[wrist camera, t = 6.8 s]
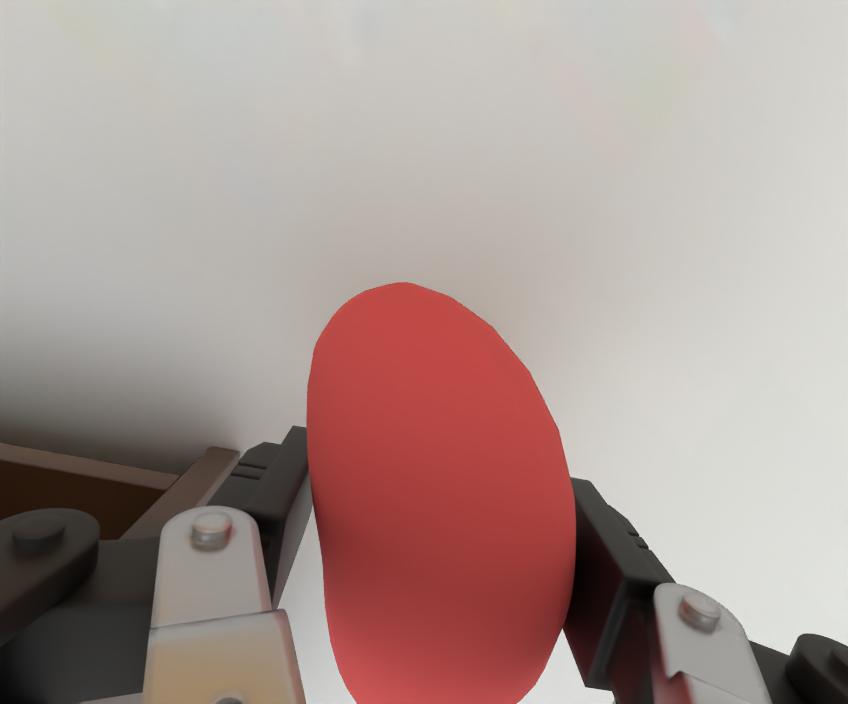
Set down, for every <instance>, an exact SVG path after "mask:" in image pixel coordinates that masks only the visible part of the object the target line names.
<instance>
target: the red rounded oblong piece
mask: <svg viewBox="0 0 848 704" xmlns="http://www.w3.org/2000/svg"><path fill="white" fill-rule="evenodd" d="M307 450H308V465H309V475H310V484H311V494H312V500H313V506H314V512H315V518H316V524H317V530H318V535H319V541H320V547H321V554H322V563H323V578H324V597H325V609H326V615H327V622H328V628H329V635H330V641H331V645H332V649H333V652H334V655H335V659H336V662H337V666H338V669H339V672H340V674H341V676H342V678H343V681H344V683H345V685H346V687H347V689H348V691H349V692H350V694H351V695H352V697H353V698H354V699H355V701H356V702H357V704H516V703H518V702H519V701H520V700H521V699H522V698H523V697H524V696H525V695H526V694H527V693H528V692H529V691H530V690H531V689H532V688H533V687H534V686H535V684H536V683H537V681H538V679H539V677H540V676H541V674H542V672H543V670H544V669H545V667H546V664H547V662H548V660H549V657H550V655H551V653H552V650H553V648H554V646H555V643H556V641H557V639H558V636H559V634H560V632H561V630H562V627H563V625H564V622H565V619H566V616H567V612H568V609H569V605H570V600H571V595H572V589H573V582H574V573H575V557H576V514H575V500H574V492H573V488H572V484H571V480H570V476H569V471H568V467H567V463H566V459H565V455H564V450H563V446H562V442H561V438H560V434H559V430H558V428H557V426H556V424H555V422H554V420H553V418H552V416H551V414H550V412H549V410H548V408H547V406H546V404H545V402H544V400H543V398H542V396H541V394H540V392H539V390H538V388H537V386H536V384H535V382H534V380H533V378H532V376H531V374H530V372H529V370H528V369H527V368H526V367H525V366H524V364H523V363H522V362H521V361H520V360H519V358H518V357H517V356H516V355H515V354H514V352H513V351H512V350H511V349H510V348H509V346H508V345H507V344H506V343H505V342H504V340H503V339H502V338H501V337H500V336H499V334H498V333H497V332H496V331H495V330H494V328H493V327H492V326H491V325H489V324H488V323H487V322H485V321H484V320H482V319H481V318H480V317H478V316H477V315H475V314H474V313H473V312H471V311H470V310H469V309H467V308H466V307H464V306H463V305H462V304H460V303H459V302H457V301H456V300H455V299H453V298H451V297H449V296H447V295H444V294H441V293H438V292H436V291H433V290H430V289H427V288H424V287H421V286H418V285H415V284H412V283H407V282H403V283H394V284H388V285H384V286H381V287H377V288H373V289H370V290H367V291H364V292H362V293H360V294H358V295H356V296H355V297H353V298H352V299H350V300H349V301H348V302H346V303H345V304H344V305H343V306H342V307H341V308H340V309H338V311H337V312H336V313H335V314H334V315H333V317H332V318H331V320H330V321H329V322H328V324H327V326H326V327H325V329H324V330H323V332H322V333H321V335H320V337H319V339H318V341H317V343H316V345H315V348H314V352H313V358H312V365H311V371H310V376H309V381H308V392H307Z"/></svg>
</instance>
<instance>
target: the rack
mask: <svg viewBox="0 0 848 704" xmlns="http://www.w3.org/2000/svg"><path fill="white" fill-rule="evenodd" d="M238 459H239V452H238V451H232V450H227V449H222V448H216V447H210V448H209V449H208V450H207V451H206V452H205V453H204V454H203V455H202V456H201V457H200V458H199V459H198V460H197V461H196V462H195V463H194V464H193V465H192V466H191V467H190V468H189V469H188V470H187V471H186V472H185V473H184V474H183V475H182V476H181V477H180V476H179V475H175V474H169V473H164V472H158V471H153V470H147V469H142V468H136V467H131V466H125V465H120V464H114V463H109V462H103V461H98V460H92V459H87V458H81V457H76V456H70V455H65V454H59V453H54V452H48V451H43V450H38V449H32V448H27V447H21V446H16V445H10V444H5V443H0V521H1V520H3V519H5V518H8V517H11V516H14V515H17V514H20V513H24V512H28V511H33V510H39V509H47V508H68V509H75V510H79V511H83V512H85V513H88V514H90V515H91V516H93V517H94V518H95V519H96V520H97V521H98V523H99V525H100V537H99V540H121V539H140V538H150V537H156V536H160V535H161V532H162V529H163V527H164V526H165V524H166V523H167V522H168V521H169V520H170V519H172V518H173V517H174V516H176V515H178V514H180V513H182V512H184V511H187V510H190V509H193V508H198V507H203V506H206V504H207V503H208V502H209V500H210V499H211V498H212V496H213V495H214V494H215V492H216V491H217V490H218V488H219V487H220V486H221V485H222V483H223V482H224V481H225V479H226V478H227V477H228V475H230V473H231V471H232V470H233V469H234V467H235V466H236V465H238ZM142 694H143V693H136V694H130V695H124V696H117V697H111V698H105V699H98V700H92V701H86V702H82V703H81V704H141V703H142Z"/></svg>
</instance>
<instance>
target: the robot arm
mask: <svg viewBox="0 0 848 704" xmlns="http://www.w3.org/2000/svg"><path fill="white" fill-rule="evenodd" d="M570 480H571V484H572V488H573V492H574V500H575V514H576V557H575V573H574V582H573V589H572V595H571V600H570V605H569V609H568V612H567V616H566V619H565V622H564V625H563V627H562V628H563V630H564V633H565V636H566V638H567V641H568V643H569V646H570V649H571V651H572V654H573V656H574V659H575V661H576V664H577V667H578V669H579V672H580V674H581V677H582V680H583V682H584V685H585V687H588V688H595V689H602V690H608V691H612V692H613V695H614V697H615V698H614V701H613V704H848V646H846V645H844V644H842V643H839V642H837V641H835V640H832V639H830V638H827V637H824V636H821V635H816V634H802V635H800V636H799V637H798V639H797V641H796V643H795V645H794V647H793V649H792V651H791V654H790V656H789V655H786V654H784V653H781V652H778V651H776V650H773V649H771V648H768V647H765V646H763V645H760V644H757V643H755V642H752V641H750V640H748V638H747V636H746V633H745V631H744V629H743V627H742V625H741V624H740V622H739V621H738V620H737V618H736V617H735V616H734V615H733V614H732V613H731V612H730V611H729V610H728V609H726V608H725V607H724V606H723V605H721V604H720V603H718V602H717V601H716V600H714V599H713V598H711V597H709V596H708V595H706V594H704V593H702V592H700V591H698V590H695V589H693V588H691V587H688V586H685V585H681V584H677V583H676V582H675V581H674V579H673V578H672V577H671V575H670V574H669V573H668V572H667V570H666V569H665V568H664V566H663V565H662V564H661V562H660V561H659V560H658V558H657V557H656V556H655V554H654V553H653V552H652V551H651V550H649V549H648V548H649V547H648V545H647V544H646V543H645V541H644V540H643V539H642V537H639V534H638V532H637V531H636V530H635V528H634V527H633V526H632V524H631V523H630V522H629V520H628V519H627V518H625V517H624V516H623V515H621V514H620V513H619V512H618V511H616V510H615V509H614V508H612V507H611V506H610V505H607V503H606V502H605V500H604V499H603V498H602V496H601V495H600V494H599V492H598V491H597V490H596V488H595V487H594V485H593V484H592V483H591V482H590V481H588V480H583V479H577V478H572V477H570ZM312 505H313V500H312V494H311V484H310V475H309V465H308V450H307V428H305V427H299V426H294V425H293V426H292V428H291V429H290V431H289V433H288V434H287V436H286V437H285V439H284V441H283V442H282V444H281V445H279V444H273V443H268V442H263V443H261V444H259V445H257V446H255V447H253V448H251V449H249V450H247V452H246V453H245V454H244V456H243V457H242V458H241V459H240V461H239V462H238V465H236V466H235V467H234V469H233V470H232V471H231V473H230V475H228V477H227V478H226V479H225V481H224V482H223V483H222V485H221V486H220V487H219V488H218V490H217V491H216V492H215V494H214V495H213V496H212V498H211V499H210V500H209V502H208V503H207V504H206V506H203V507H198V508H193V509H190V510H187V511H184V512H182V513H180V514H178V515H176V516H174V517H173V518H172V519H170V520H169V521H168V522H167V523H166V524H165V526H164V527H163V529H162V532H161V535H160V536H156V537H150V538H140V539H121V540H99V537H100V525H99V523H98V521H97V520H96V519H95V518H94V517H93V516H91V515H90V514H88V513H85V512H83V511H79V510H75V509H68V508H47V509H39V510H33V511H28V512H24V513H20V514H17V515H14V516H11V517H8V518H5V519H3V520H1V521H0V704H81V703H82V702H86V701H92V700H98V699H105V698H111V697H117V696H124V695H130V694H136V693H143V694H142V703H141V704H306V700H305V695H304V690H303V686H302V681H301V676H300V671H299V667H298V662H297V657H296V652H295V647H294V643H293V638H292V633H291V628H290V624H289V619H288V616H287V613H286V611H285V610H284V609H277V606H278V604H279V601H280V598H281V595H282V592H283V590H284V587H285V584H286V581H287V579H288V576H289V573H290V570H291V567H292V565H293V562H294V559H295V556H296V553H297V551H298V548H299V545H300V542H301V539H302V537H303V534H304V531H305V528H306V525H307V523H308V520H309V516H310V513H311V509H312Z"/></svg>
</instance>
